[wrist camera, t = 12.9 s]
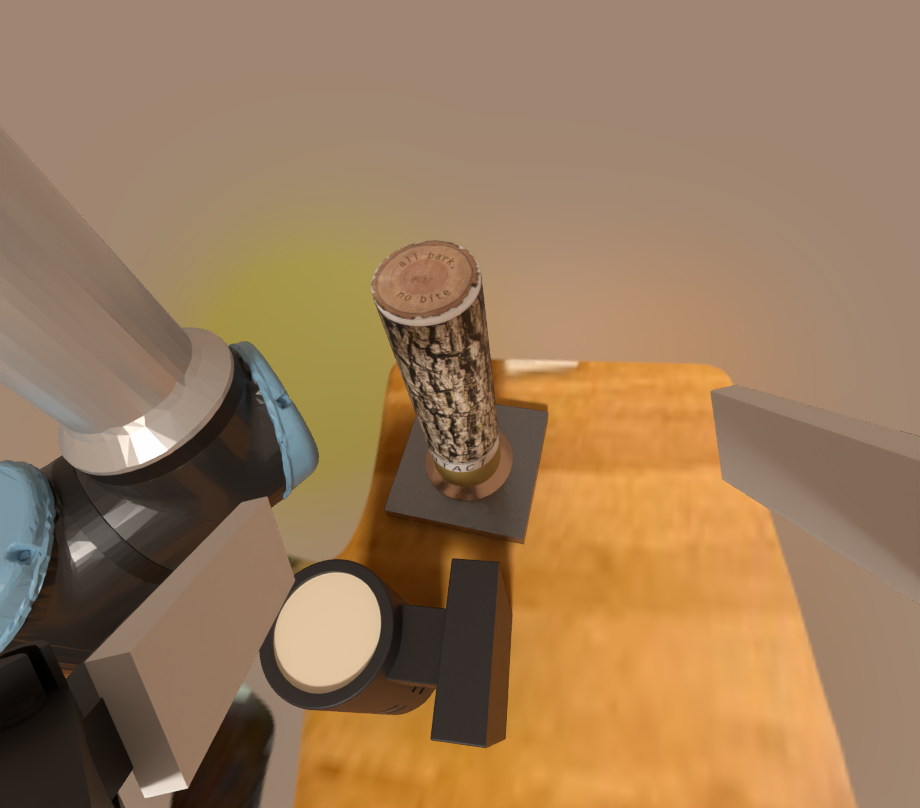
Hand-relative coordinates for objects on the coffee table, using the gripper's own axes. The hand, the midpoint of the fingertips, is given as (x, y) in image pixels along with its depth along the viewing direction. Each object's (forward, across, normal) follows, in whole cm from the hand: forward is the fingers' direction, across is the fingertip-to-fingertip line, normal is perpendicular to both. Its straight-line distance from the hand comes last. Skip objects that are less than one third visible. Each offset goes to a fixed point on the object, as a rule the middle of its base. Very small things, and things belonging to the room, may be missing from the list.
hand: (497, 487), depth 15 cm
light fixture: (+25, -9, -24) cm, 36 cm away
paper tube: (+36, -1, -11) cm, 38 cm away
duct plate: (+37, -1, -12) cm, 39 cm away
